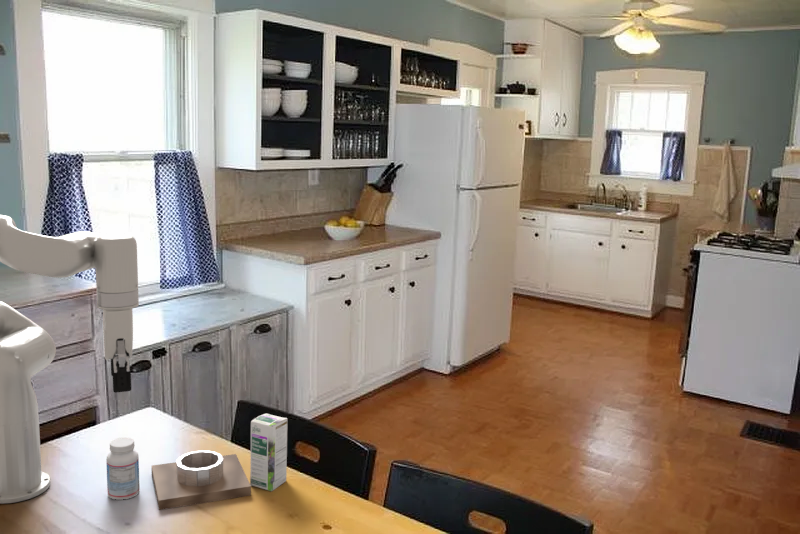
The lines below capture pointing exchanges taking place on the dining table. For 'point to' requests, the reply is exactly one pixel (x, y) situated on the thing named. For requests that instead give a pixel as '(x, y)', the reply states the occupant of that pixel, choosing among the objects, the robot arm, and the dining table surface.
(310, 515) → the dining table surface
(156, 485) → the holder board
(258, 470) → the syrup box
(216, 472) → the bottle ring
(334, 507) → the dining table surface
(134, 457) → the pill bottle
